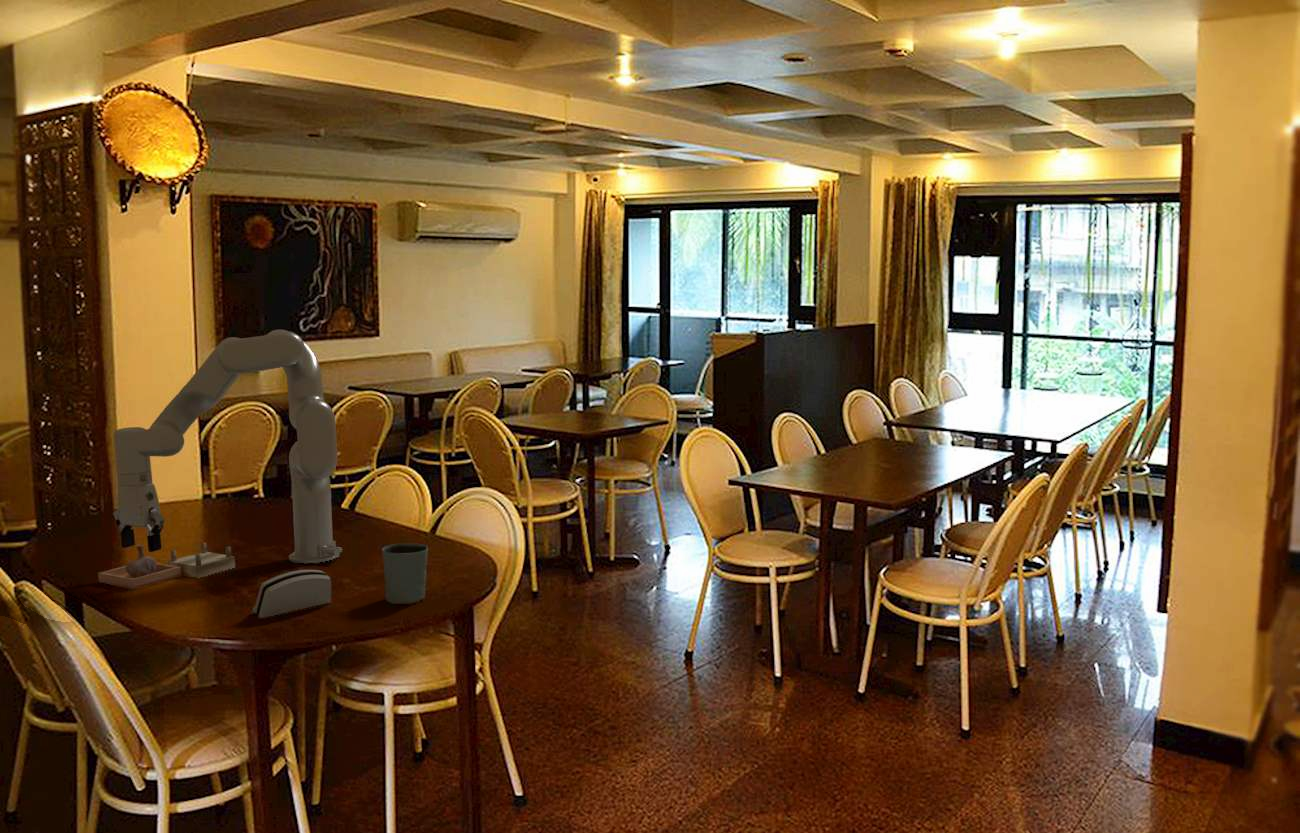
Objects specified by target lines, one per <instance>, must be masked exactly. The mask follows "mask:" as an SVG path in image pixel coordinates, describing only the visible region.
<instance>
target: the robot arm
mask: <svg viewBox="0 0 1300 833" xmlns="http://www.w3.org/2000/svg"><path fill="white" fill-rule="evenodd" d="M279 368H280V369H281V368H282V369H283V370H284V374H285V376H286V382H287V392H288V393H287V394H288V417H289V422H290V424H291V426H292V427H293V428H294V429H295V430H296V437H297V441H295V442H294V443H293V445H291V446H292V447H291V449H290V451H289V455H288V464H289V465H288V466H289V472H290V478H291V491H292V493H291V494H292V511H293V513H292V514H293V515H292V516H293V518H292V519H293V536H294V551H293V552H292V553H290V554H289V555H288V560H289V561H290V562H291V563H293V564H300V563H304V565H310V564H309V563H314V564H321V563H320V562H323V563H326V562H325V561H328V562H330V561H329V560H332V561H334V560H333V559H335V558H337V557H338V558H340V556H339V555H340V553H342V552H343V547H341V546H340V547H339V546H337V544H336V543H337V541H336V540H333V518H332V516H333V515H332V490H331V488H332V486H331V478H330V476H331V475H332V474H333V473H334V471H336V468H337V464H338V442H337V441H338V440H337V427H336V417H335V414H334V411H333V410H332V407H331V406H330V405H329V404H328V403H327V401H326V402H325V398H324V397H325V396H324V388H323V387H324V386H323V380H322V370H321V367H320V362H319V361H318V358H317V356H316V354H315V352H314V351H313V350H312V348H311V346H309V345H308V344H307V343H306V342H305V341H304V340H303V339H302V337H301V336H299V334H296V333H295V332H293V331H288V330H286V329H274V330H271V331H270V332H268V333H267V334H266V335H265V334H264V335H257V336H251V337H242V338H240V337H234V336H231V337H226V338H225V339H223V340H222V341H220V342H219V344H217V345H216V347H215V348H214V350H212V352H211V353H210V354H209V355H208V357H207V358H206V359H205V360H204V362H202V364H201V366H200V367H199V368H198V370H197V371H196V372H195V373H194V374H193V375H192V377H191V378H190V379H189V380H188V381H187V382H186V384H184V385H183V387H182V388H181V389H180V390H179V392H178V393H177V394H176V395H175V396H174V397H173V399H172V400H171V401H170V402H169V403H168V404H167V405H166V407H165V408H164V409H163V410H162V411H161V413H159V415H158V416H157V417H156V419H155V420H154V421H153V423H152V424H151V425H150V427H149V428H147V429H146V428H144V427H140V426H132V427H131V426H130V427H129V426H128V427H123V428H119V429H116V430H115V431H114V432H113V447H114V457H115V458H114V459H115V468H116V477H117V487H118V488H117V509H116V510H114V511H113V513H112V514H113V517H114V518H115V524H116V525H117V527H118V531H119V532H120V541H121V548H123V549H127V548H129V547H133V546H135V545H136V540H135V538H136V537H135V530H134V529H133V527H136V528H144V529H145V530H146V532H147V536H146V538H147V548H148V549H147V550H148V552H150V553H153V552H156V551H160V550H162V538H161V534H162V532H163V531H162V530H163V528H164V523H165V520H166V519H165V517H164V516H163V515H162V514H161V506H160V501H159V496H158V492H157V489H156V486H155V484H154V483H153V472H152V464H151V463H152V462H151V457H162V458H163V457H165V458H166V457H167V458H168V457H172V456H175V455H177V454H179V453H180V452H181V451H182V450H183V448H184V445H185V438H184V435H185V434H186V432H187V431H188V430H189V429H190V427H191V426H192V425H193V424H194V422H195V421H196V420H197V419H198V418H200V417H201V415H202V414H204V413H205V412H207V411H208V410H211V409H212V408H214V407H215V406H216V405H217V404H219V403H220V401H221V400H222V399H223V397H224V396H225V395H226V394H227V392H228V391H229V390H230V388H231V387H232V386H233V384H235V382H236V381H237V380H238V379H239V377H240V376H241V375H242V374H250V373H251V374H252V373H257V372H263V371H268V370H274V369H279ZM338 558H337V559H338ZM335 560H336V559H335ZM307 563H308V564H307Z"/></svg>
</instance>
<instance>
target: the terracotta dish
mask: <svg viewBox="0 0 1300 833" xmlns="http://www.w3.org/2000/svg"><path fill="white" fill-rule="evenodd" d="M156 565H157V568H156V570H155V572H154V573H152V574H149V575H145V576H141V577H138V578H135V577H133V576H131V575H129V574H128V572H127V571H126V566H127V565H124V566H119V567H117V568H115V567H114V568H112V569H108V570H104V571H100V572H98V573H97V574H98V583H99V582H101V583H106V584H110V585H109V586H111V585H115V586H114V587H116V586H120V587H119V588H121V587H125V588H124V589H126V588H130V589H129V590H131V589H137V588H140V587H144V586H147V585H151V584H154V583H158V582H162V581H165V582H167V581H166V580H169V581H171V580H170V579H172V580H174V579H173V578H176V579H178V578H177V577H180V578H182V575H181V567H178V566H172V565H168V563H167V564H166V563H161V562H156ZM101 583H100V584H101ZM162 583H163V582H162ZM106 584H105V585H106ZM158 584H159V583H158ZM151 586H152V585H151ZM144 588H145V587H144ZM137 590H138V589H137Z"/></svg>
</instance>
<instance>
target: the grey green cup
mask: <svg viewBox="0 0 1300 833" xmlns="http://www.w3.org/2000/svg"><path fill="white" fill-rule="evenodd" d="M381 553H382V554H381V556H382V561H383V571H384V573H383V574H384V582H385V586H384V587H385V599H386V600H385V601H386V602H387V601H389V602H392V603H411V602H415V601H419V600H421V599H423V598H424V597H425V598H426V582H427V581H426V580H427V566H428V555H429V554H428V553H429V547H428V546H427V545H425V544H422V543H412V542H411V543H410V542H405V543H403V542H402V543H401V542H400V543H394V544H390V545H387V546H384V547H382V548H381Z"/></svg>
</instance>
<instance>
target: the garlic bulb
mask: <svg viewBox="0 0 1300 833" xmlns="http://www.w3.org/2000/svg"><path fill="white" fill-rule="evenodd" d="M136 546H137V547H136V548H137V552H138V558H137V559H135V560H131V561H128V563H127V564H126V565H125V566H126V571H127V572H128V574H129V575H131V576H133V577H135V578H138V577H141V576H145V575H149V574H152V573H154V572H155V570H156V568H157V565H156V563H157V562H156V560H155V559H154V558H153V557H151V556H146V555H144V550H143V545H142V544H137V545H136Z"/></svg>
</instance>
